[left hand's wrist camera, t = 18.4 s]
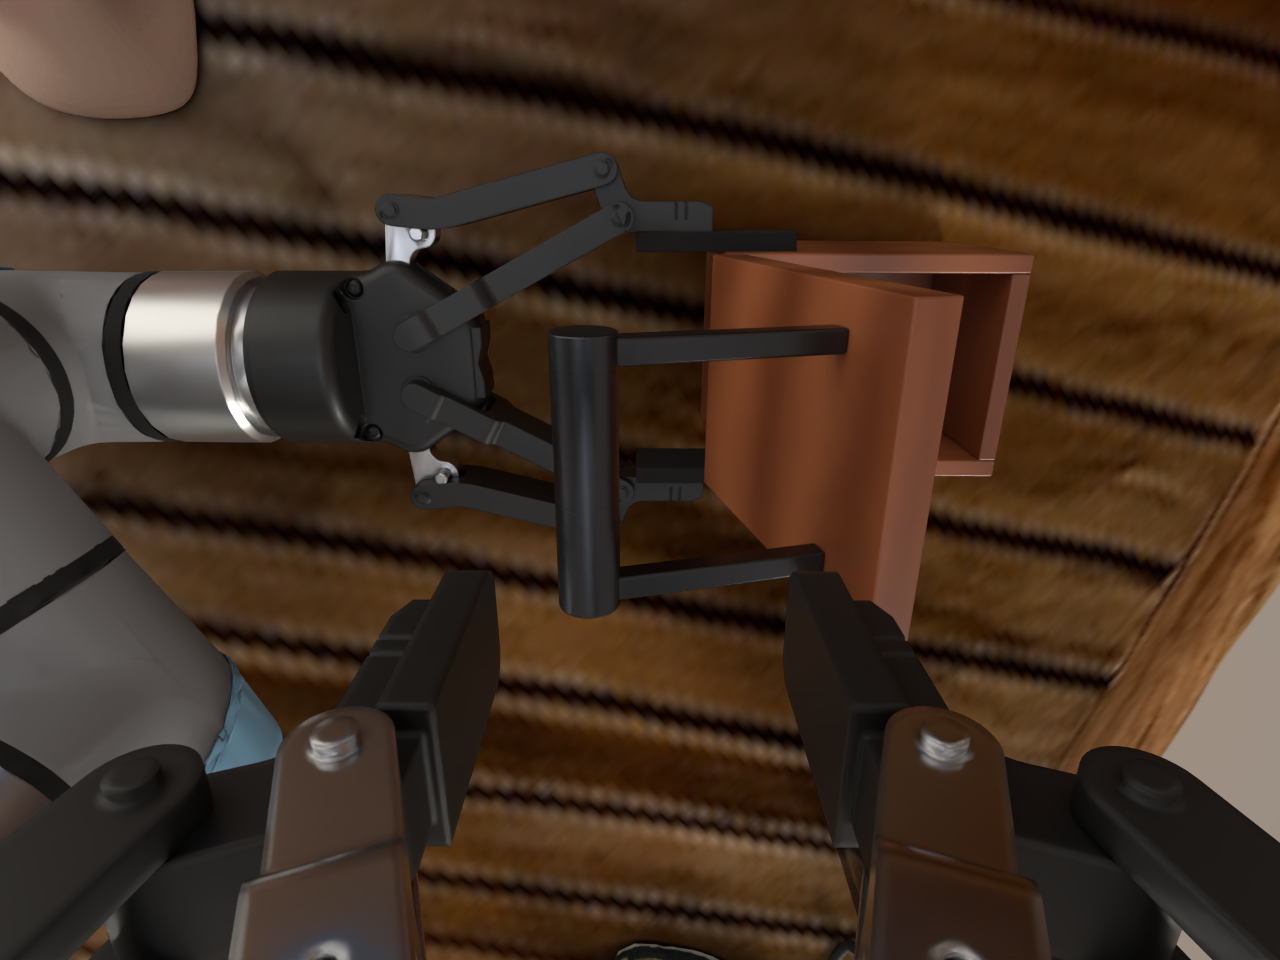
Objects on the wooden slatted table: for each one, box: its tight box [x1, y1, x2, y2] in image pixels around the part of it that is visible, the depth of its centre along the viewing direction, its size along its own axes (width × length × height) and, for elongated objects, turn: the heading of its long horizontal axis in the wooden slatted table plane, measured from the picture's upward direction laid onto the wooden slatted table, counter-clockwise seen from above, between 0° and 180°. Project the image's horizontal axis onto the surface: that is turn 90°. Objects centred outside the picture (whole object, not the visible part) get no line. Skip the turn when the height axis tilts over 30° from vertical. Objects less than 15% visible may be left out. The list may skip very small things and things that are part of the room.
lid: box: [548, 254, 964, 641], centre depth 23 cm, size 13×9×9 cm
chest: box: [701, 241, 1034, 476], centre depth 34 cm, size 12×9×9 cm
